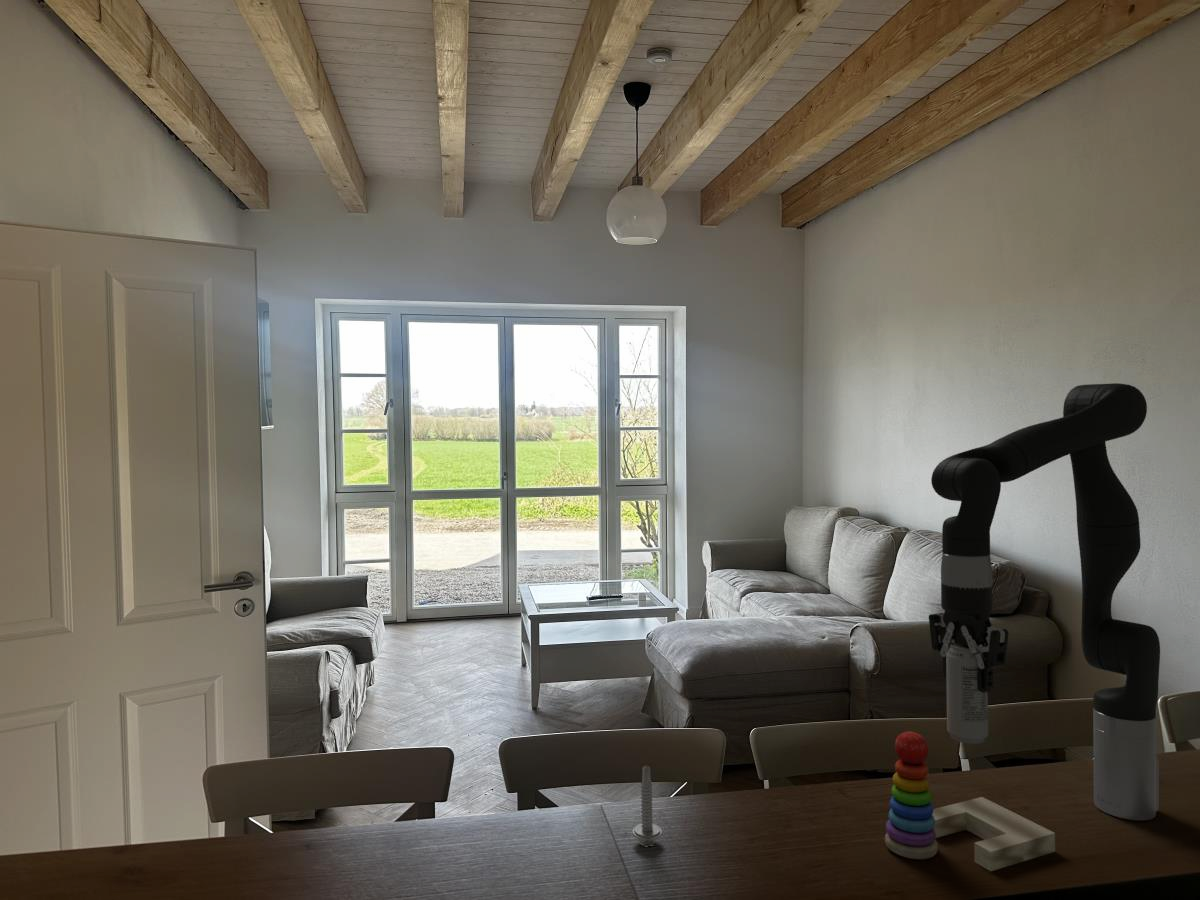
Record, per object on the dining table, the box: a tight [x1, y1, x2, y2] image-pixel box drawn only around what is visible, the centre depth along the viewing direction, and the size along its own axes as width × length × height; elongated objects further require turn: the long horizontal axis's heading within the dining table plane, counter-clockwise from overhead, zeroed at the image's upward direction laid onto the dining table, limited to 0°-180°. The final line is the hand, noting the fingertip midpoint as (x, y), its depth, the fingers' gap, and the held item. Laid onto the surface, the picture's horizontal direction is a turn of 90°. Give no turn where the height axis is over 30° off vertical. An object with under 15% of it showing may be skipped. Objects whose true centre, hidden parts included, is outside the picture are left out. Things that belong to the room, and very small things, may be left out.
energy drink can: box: [945, 643, 989, 745], centre depth 128 cm, size 6×6×15 cm
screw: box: [632, 765, 663, 846], centre depth 131 cm, size 13×5×5 cm
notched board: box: [932, 796, 1056, 872], centre depth 130 cm, size 14×14×3 cm
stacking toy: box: [884, 730, 939, 860], centre depth 128 cm, size 8×8×19 cm
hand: (967, 684), depth 128 cm, fingers closed on energy drink can, 6 cm apart
